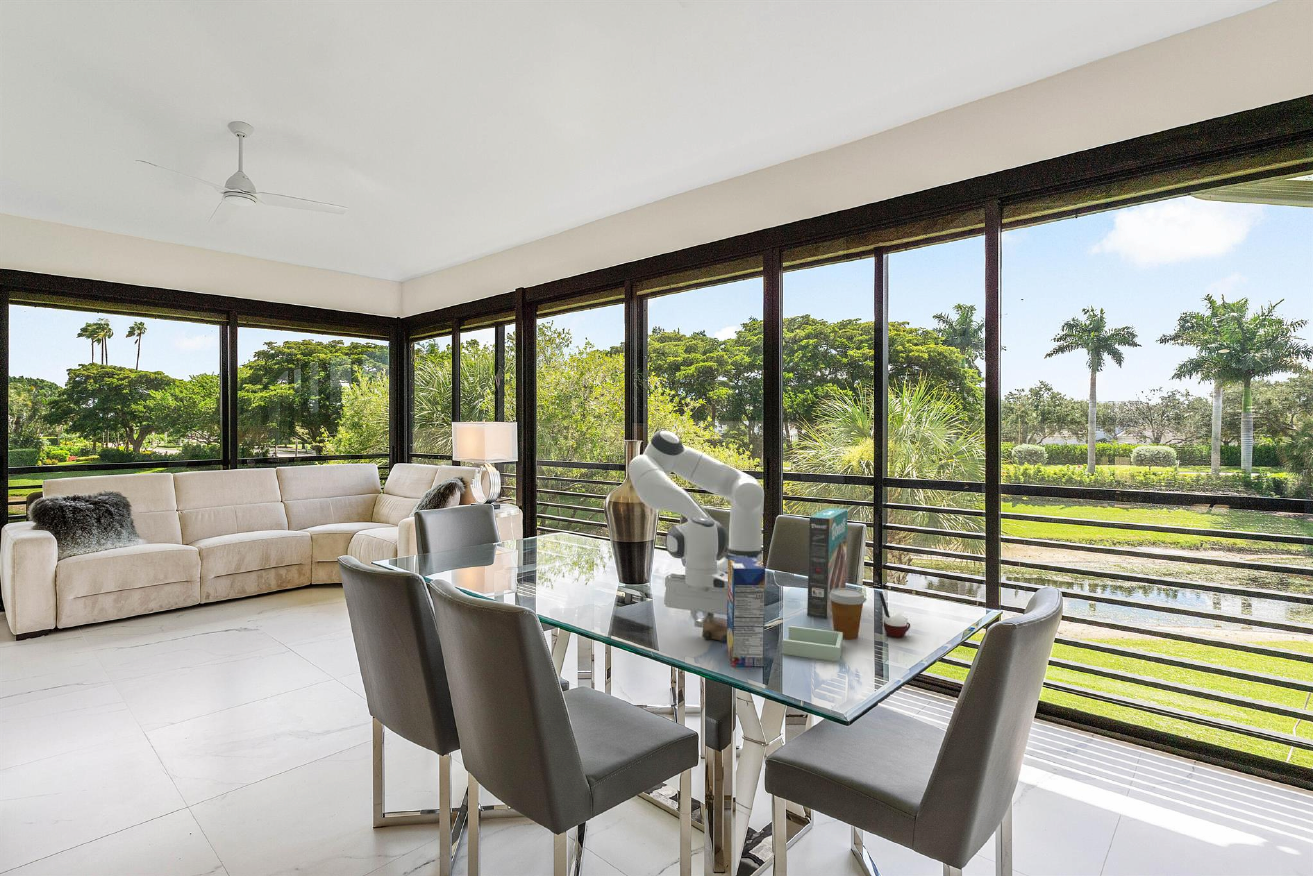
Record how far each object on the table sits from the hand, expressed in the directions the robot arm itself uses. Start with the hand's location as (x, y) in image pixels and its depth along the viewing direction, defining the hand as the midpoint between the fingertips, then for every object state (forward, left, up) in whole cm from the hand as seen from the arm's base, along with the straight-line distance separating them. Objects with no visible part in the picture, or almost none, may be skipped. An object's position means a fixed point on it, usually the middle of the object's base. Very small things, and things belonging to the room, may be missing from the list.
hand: (699, 626), depth 179 cm
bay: (+28, +11, -2) cm, 30 cm away
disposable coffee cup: (+30, +27, -2) cm, 41 cm away
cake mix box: (+15, +47, -3) cm, 49 cm away
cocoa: (+40, +36, -3) cm, 54 cm away
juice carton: (+18, -6, -2) cm, 20 cm away
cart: (+5, +2, -2) cm, 6 cm away
